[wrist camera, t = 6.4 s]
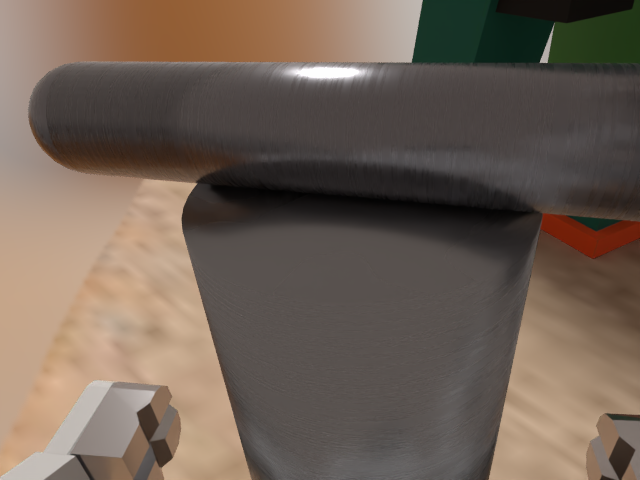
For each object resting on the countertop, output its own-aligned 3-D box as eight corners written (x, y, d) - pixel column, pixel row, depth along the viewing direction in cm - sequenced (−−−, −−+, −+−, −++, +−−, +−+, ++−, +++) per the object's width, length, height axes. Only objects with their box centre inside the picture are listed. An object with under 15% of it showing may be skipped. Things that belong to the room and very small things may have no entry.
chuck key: (549, 576, 13) (781, 15, 5) (562, 799, 10) (1182, 193, 2) (254, 491, 15) (125, 29, 8) (187, 646, 12) (-139, 121, 5)
